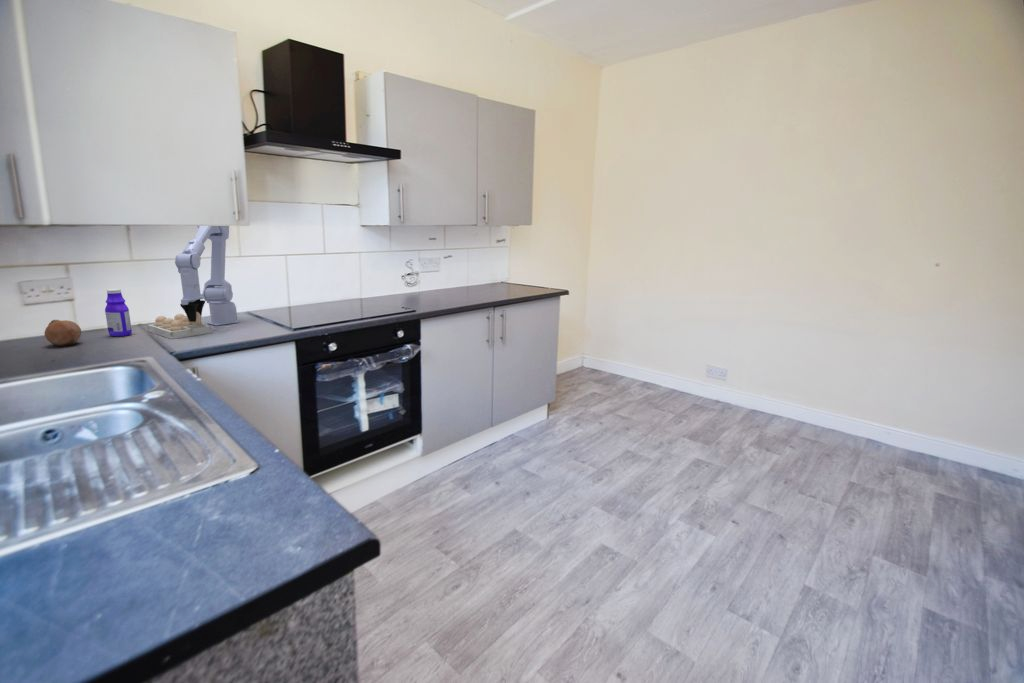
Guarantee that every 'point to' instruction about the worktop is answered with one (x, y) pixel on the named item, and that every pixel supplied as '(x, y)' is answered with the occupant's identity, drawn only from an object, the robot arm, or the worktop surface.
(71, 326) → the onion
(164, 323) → the carton
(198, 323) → the egg
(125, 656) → the worktop surface
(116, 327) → the bottle
